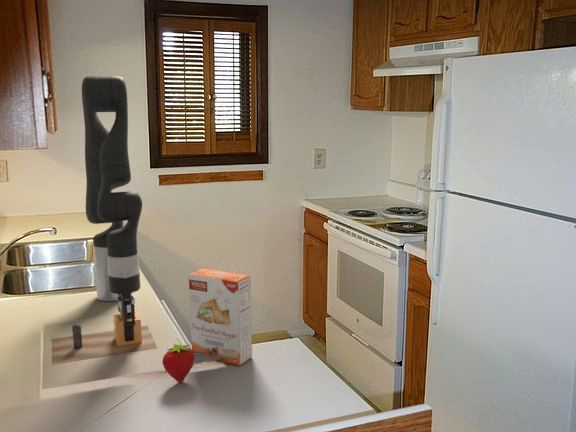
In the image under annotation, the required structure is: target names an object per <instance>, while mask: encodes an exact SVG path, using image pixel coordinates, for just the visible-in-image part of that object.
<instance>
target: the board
mask: <svg viewBox="0 0 576 432" xmlns="http://www.w3.org/2000/svg"><path fill="white" fill-rule="evenodd" d="M71 330H72V336H71V335H70V336H65V337H57V338H52V339H51V365H59V364H65V363H70V362H78V361H84V360H90V359H96V358H97V359H98V358H102V357H103V358H104V357H110V356H115V355H122V354H128V353H134V352H140V351H148V350H153V349H158V346H157V344H156V342H155V339H154V337H153V334H152V332H151V330H150V328H149V326H148V325H141V334H142V342H141V343H134V344H128V345H121V346H117V343H116V340H115V334H114V329H113V330H107V331H106V330H105V331H100V332H94V333H93V332H92V333H86V334H82V326H81V325H80V324H79V323H75V324H73V325H72V329H71Z"/></svg>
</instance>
